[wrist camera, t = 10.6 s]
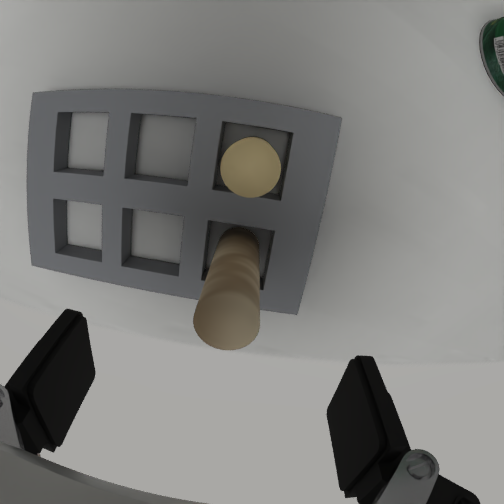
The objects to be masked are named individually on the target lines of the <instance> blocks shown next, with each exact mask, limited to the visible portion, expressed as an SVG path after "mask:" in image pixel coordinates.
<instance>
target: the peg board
mask: <svg viewBox="0 0 504 504" xmlns="http://www.w3.org/2000/svg"><path fill="white" fill-rule="evenodd" d="M72 112H108V113H109V120H108V129H107V139H106V149H105V161H104V171H98V170H86V169H74V168H67V163H68V147H69V134H70V124H71V115H72ZM141 114H151V115H165V116H177V117H187V118H197V119H196V125H195V132H194V139H193V146H192V153H191V161H190V169H189V177H188V181H186V180H178V179H171V178H163V177H154V176H146V175H137V174H135V166H136V156H137V146H138V137H139V129H140V121H141ZM341 121H342V118H341V117H337V116H333V115H328V114H324V113H320V112H315V111H311V110H306V109H301V108H296V107H291V106H286V105H280V104H275V103H269V102H263V101H257V100H250V99H243V98H236V97H229V96H221V95H212V94H202V93H192V92H179V91H164V90H143V89H80V90H60V91H46V92H35V93H33V95H32V103H31V111H30V121H29V133H28V150H27V214H28V231H29V243H30V254H31V263H32V266H36V267H40V268H45V269H49V270H53V271H57V272H61V273H66V274H70V275H75V276H79V277H83V278H88V279H93V280H97V281H102V282H107V283H111V284H116V285H121V286H126V287H131V288H136V289H141V290H146V291H152V292H157V293H162V294H168V295H173V296H179V297H184V298H190V299H196V300H199V298H200V295H201V292H202V289H203V286H204V283H205V280H206V277H207V274H208V271H209V269H205V266H206V258H207V249H208V241H209V233H210V225H211V221H218V222H224V223H230V224H237V225H243V226H249V227H255V228H261V229H268V230H272V235H271V240H270V245H269V250H268V255H267V260H266V266H265V271H264V276H263V278H261V277H260V310H266V311H273V312H280V313H287V314H295V315H297V314H298V310H299V307H300V303H301V299H302V295H303V291H304V288H305V284H306V280H307V276H308V272H309V268H310V264H311V260H312V256H313V252H314V248H315V244H316V239H317V235H318V231H319V227H320V222H321V218H322V214H323V209H324V205H325V200H326V196H327V191H328V186H329V182H330V177H331V172H332V167H333V162H334V157H335V152H336V147H337V142H338V137H339V132H340V126H341ZM225 122H230V123H237V124H243V125H250V126H256V127H262V128H268V129H274V130H280V131H285V132H290V138H289V144H288V149H287V155H286V160H285V166H284V171H283V177H282V182H281V187H280V193H279V195H277V194H271V193H268V192H269V191H270V190H272V189H273V188H274V186H275V185H276V184H277V182H278V180H279V177H280V173H281V163H280V159H279V157H278V154H277V153H276V151H275V150H274V149H273V148H272V146H271V145H270V144H269V143H268V142H267V141H265V140H264V139H262V138H259V137H246V138H243V139H241V140H239V141H237V142H235V143H234V144H232V145H231V146H230V147H229V148H228V149H227V150H226V152H225V153H224V155H223V157H222V160H221V165H220V171H221V176H222V179H223V181H224V183H225V185H226V186H221V185H216V181H217V174H218V167H219V160H220V154H221V147H222V141H223V134H224V128H225ZM66 200H69V201H77V202H85V203H93V204H100V205H102V251H100V250H95V249H90V248H84V247H79V246H74V245H68V244H67V209H66ZM132 209H137V210H144V211H151V212H158V213H165V214H171V215H178V216H184V221H183V232H182V242H181V254H180V264H174V263H168V262H162V261H157V260H151V259H145V258H139V257H134V256H131V227H132Z"/></svg>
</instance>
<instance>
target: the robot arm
mask: <svg viewBox="0 0 504 504" xmlns="http://www.w3.org/2000/svg"><path fill="white" fill-rule="evenodd" d="M94 378H95V367H94V362H93V356H92V351H91V345H90V340H89V333H88V326H87V320H86V318H85V317H83V314H82V313H81V312H78V311H74V310H71V309H66V310H64V312H63V313H62V314H61V315H60V316H59V318H58V319H57V320H56V321H55V322H54V324H53V325H52V326H51V327H50V329H49V330H48V331H47V332H46V333H45V335H44V336H43V337H42V338H41V340H39V341H38V343H37V344H36V345H35V347H34V348H33V349H32V350H31V352H30V353H29V354H28V356H27V357H26V358H25V359H24V361H23V362H22V363H21V365H20V366H19V367H18V369H17V370H16V371H15V373H14V374H13V376H12V377H11V378H10V380H9V381H8V383H7V384H6V385H5V387H4V386H2V385H0V504H206V503H199V502H193V501H187V500H181V499H176V498H170V497H166V496H161V495H156V494H152V493H148V492H143V491H139V490H135V489H132V488H128V487H124V486H121V485H117V484H114V483H110V482H107V481H104V480H100V479H98V478H94V477H92V476H89V475H86V474H83V473H80V472H77V471H75V470H72V469H69V468H66V467H64V466H61V465H59V464H56V463H53V462H51V461H49V460H46V459H44V458H41V457H40V452H41V450H42V448H44V449H47V450H49V451H51V452H54V451H55V449H56V447H57V446H58V447H60V446H61V445H62V443H63V441H64V439H65V437H66V434H67V432H68V430H69V428H70V426H71V424H72V422H73V420H74V418H75V416H76V414H77V411H78V410H79V408H80V406H81V404H82V402H83V400H84V398H85V396H86V394H87V392H88V390H89V388H90V386H91V384H92V382H93V380H94ZM327 420H328V425H329V430H330V436H331V441H332V447H333V452H334V458H335V464H336V469H337V476H338V481H339V487H340V490H342V491H344V493H345V498H350V497H357V501H358V503H359V504H480V502H479V499H478V498H477V496H476V495H474V494H473V493H472V492H470V491H468V490H466V489H464V488H462V487H461V486H459V485H457V484H455V483H453V482H451V481H450V480H448V479H446V478H444V477H442V476H441V475H439V464H438V462H437V460H436V458H435V457H434V456H433V455H432V454H430V453H429V452H427V451H424V450H420V449H415V450H411V449H410V446H409V443H408V440H407V438H406V435H405V432H404V429H403V427H402V424H401V421H400V419H399V416H398V413H397V411H396V408H395V405H394V403H393V400H392V398H391V396H390V394H389V393H388V392H387V390H386V387H385V385H384V382H383V380H382V377H381V375H380V372H379V370H378V367H377V365H376V362H375V360H374V358H373V357H372V356H356V357H355V359H351V360H350V362H349V364H348V366H347V368H346V370H345V373H344V375H343V377H342V379H341V381H340V383H339V385H338V388H337V390H336V392H335V394H334V396H333V398H332V400H331V402H330V404H329V406H328V409H327Z"/></svg>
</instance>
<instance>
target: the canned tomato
mask: <svg viewBox="0 0 504 504" xmlns="http://www.w3.org/2000/svg"><path fill="white" fill-rule="evenodd" d="M480 51H481V56H482V60H483V63H484V66H485V68H486V71H487V73H488V75H489V77H490V78H491V80H492V82H493V84H494V85H495V86H496V88H497V89H498V90H499V91H500V92H501V93H502V94H503V95H504V17H502V18H499V19H496V20H491V21H489V22H487V23H486V24H485V25H484V27H483V28H482V31H481V34H480Z"/></svg>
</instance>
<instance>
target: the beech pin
mask: <svg viewBox="0 0 504 504" xmlns="http://www.w3.org/2000/svg"><path fill="white" fill-rule="evenodd" d="M193 324H194V328H195V331H196V333H197V334H198V336H199V337H200V338H201V339H202V340H203V341H204V342H205V343H207V344H208V345H210V346H212V347H214V348H217V349H221V350H236V349H240V348H243V347H245V346H247V345H248V344H250V343H251V342H252V341H253V340H254V339H255V338H256V336H257V334H258V332H259V327H260V273H259V242H258V239H257V237H256V236H255V235H254V233H252V232H251V231H250V230H248V229H246V228H242V227H235V228H231V229H229V230H227V231H225V232H224V233H223V234H222V236H221V237H220V239H219V242H218V245H217V248H216V251H215V254H214V256H213V259H212V262H211V265H210V268H209V271H208V274H207V277H206V280H205V283H204V286H203V289H202V292H201V295H200V298H199V301H198V304H197V307H196V310H195V313H194V318H193Z"/></svg>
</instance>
